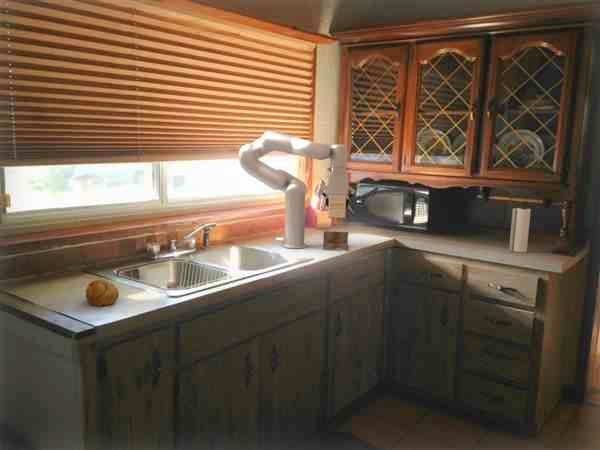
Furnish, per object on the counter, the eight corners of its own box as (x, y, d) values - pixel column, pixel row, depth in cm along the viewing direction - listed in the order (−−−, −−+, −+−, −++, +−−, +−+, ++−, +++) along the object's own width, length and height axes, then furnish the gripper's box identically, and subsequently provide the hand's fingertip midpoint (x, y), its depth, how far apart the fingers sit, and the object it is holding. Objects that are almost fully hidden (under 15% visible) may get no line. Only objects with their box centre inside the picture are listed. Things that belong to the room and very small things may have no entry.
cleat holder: (322, 249, 257) (323, 235, 256) (323, 244, 269) (323, 231, 267) (347, 250, 256) (348, 236, 255) (347, 245, 268) (348, 232, 267)
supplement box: (345, 217, 261) (346, 190, 259) (345, 218, 256) (346, 191, 254) (328, 216, 261) (329, 189, 259) (327, 218, 257) (328, 190, 255)
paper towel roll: (528, 251, 264) (532, 208, 261) (523, 253, 260) (527, 209, 256) (514, 249, 269) (518, 207, 266) (508, 251, 265) (512, 208, 261)
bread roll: (83, 298, 176) (82, 274, 174) (114, 294, 180) (113, 271, 179) (88, 309, 165) (87, 284, 163) (121, 305, 169) (120, 281, 168)
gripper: (319, 170, 252) (318, 207, 255) (356, 171, 251) (355, 208, 254) (320, 169, 259) (319, 205, 262) (356, 170, 258) (355, 206, 261)
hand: (337, 206), depth 258 cm, fingers closed on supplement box, 8 cm apart
